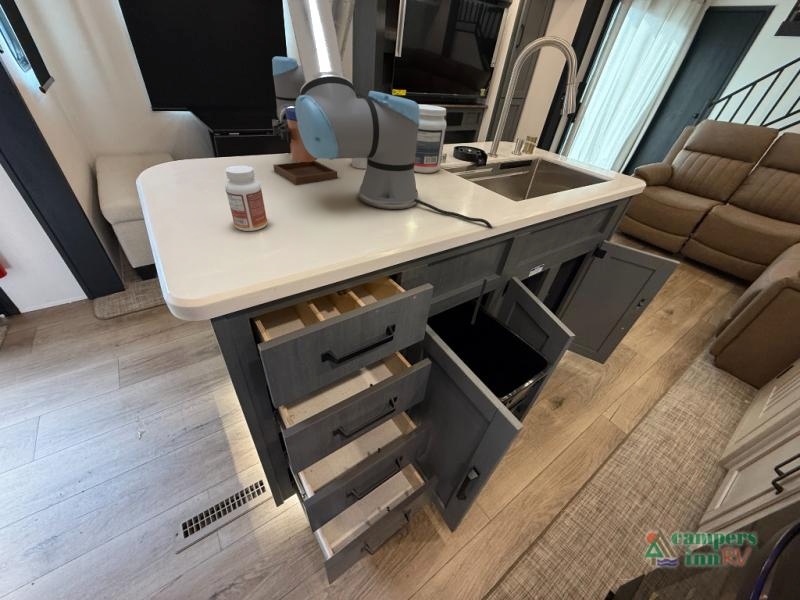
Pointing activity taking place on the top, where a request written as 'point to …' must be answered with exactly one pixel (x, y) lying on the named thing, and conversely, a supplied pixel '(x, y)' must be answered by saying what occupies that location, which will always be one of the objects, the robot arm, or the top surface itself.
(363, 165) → the white cup
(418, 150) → the supplement tub
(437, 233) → the top surface
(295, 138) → the jar
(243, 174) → the pill bottle
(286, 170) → the tray
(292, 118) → the jar lid
